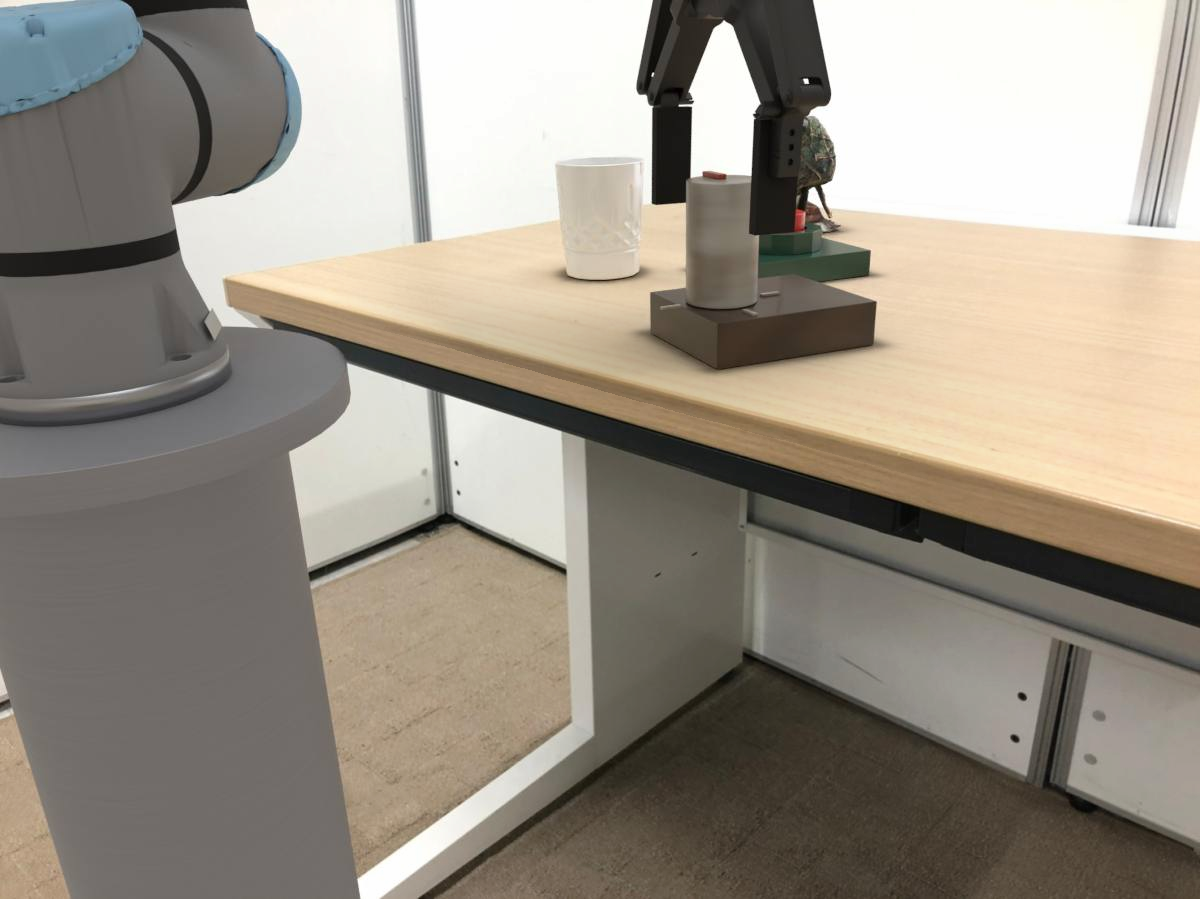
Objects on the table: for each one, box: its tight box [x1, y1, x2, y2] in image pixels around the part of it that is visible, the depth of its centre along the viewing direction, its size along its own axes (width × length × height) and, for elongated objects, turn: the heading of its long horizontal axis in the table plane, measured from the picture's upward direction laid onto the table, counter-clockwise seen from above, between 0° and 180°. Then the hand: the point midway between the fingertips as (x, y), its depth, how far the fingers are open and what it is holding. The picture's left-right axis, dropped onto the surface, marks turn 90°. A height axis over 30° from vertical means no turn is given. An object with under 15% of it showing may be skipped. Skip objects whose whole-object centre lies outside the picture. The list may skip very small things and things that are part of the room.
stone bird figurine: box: [796, 115, 842, 234], centre depth 105 cm, size 8×11×20 cm
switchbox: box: [758, 222, 872, 283], centre depth 88 cm, size 12×10×4 cm
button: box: [795, 209, 805, 231], centre depth 87 cm, size 4×4×2 cm
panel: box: [649, 274, 878, 370], centre depth 68 cm, size 14×10×3 cm
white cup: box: [554, 155, 645, 281], centre depth 89 cm, size 8×8×10 cm
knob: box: [685, 170, 759, 309], centre depth 65 cm, size 5×5×8 cm
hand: (716, 217), depth 65 cm, fingers open, 13 cm apart
